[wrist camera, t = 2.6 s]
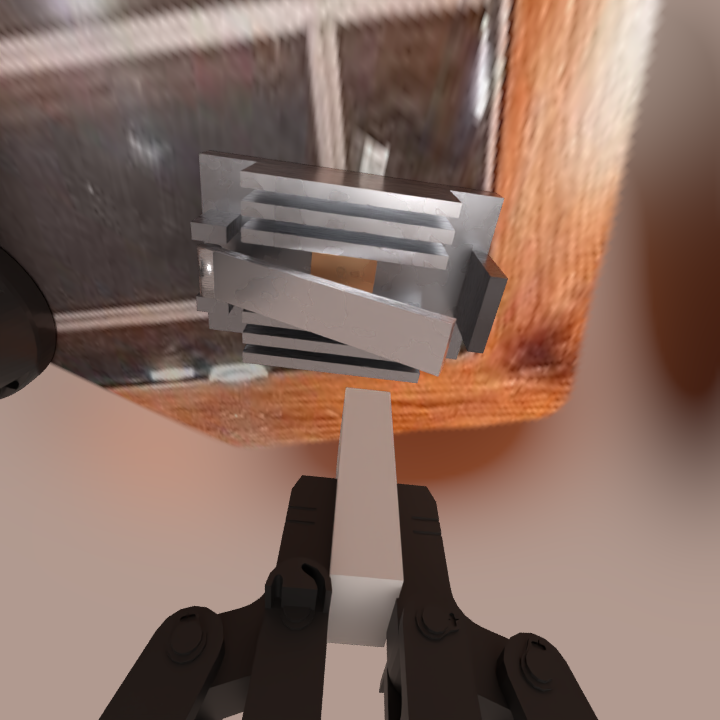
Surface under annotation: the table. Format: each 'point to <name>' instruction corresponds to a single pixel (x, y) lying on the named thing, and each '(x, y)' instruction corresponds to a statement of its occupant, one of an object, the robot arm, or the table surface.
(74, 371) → the table surface
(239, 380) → the table surface
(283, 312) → the grey flat bar
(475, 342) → the heatsink
